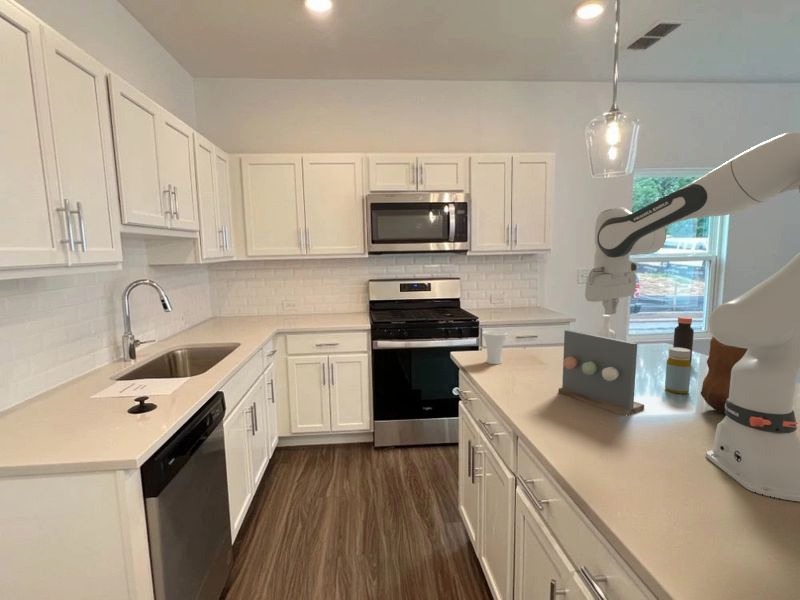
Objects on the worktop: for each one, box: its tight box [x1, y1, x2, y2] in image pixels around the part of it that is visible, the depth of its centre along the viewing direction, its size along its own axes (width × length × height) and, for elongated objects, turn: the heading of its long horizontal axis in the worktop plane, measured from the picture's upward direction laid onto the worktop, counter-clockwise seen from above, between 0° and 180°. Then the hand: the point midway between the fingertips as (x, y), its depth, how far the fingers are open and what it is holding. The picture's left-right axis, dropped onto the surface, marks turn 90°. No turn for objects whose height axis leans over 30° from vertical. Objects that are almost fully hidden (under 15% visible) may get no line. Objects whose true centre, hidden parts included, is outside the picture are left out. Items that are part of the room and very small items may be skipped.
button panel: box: [558, 329, 645, 417], centre depth 134 cm, size 10×24×22 cm, turn 30°
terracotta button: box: [562, 357, 578, 370], centre depth 137 cm, size 2×4×4 cm, turn 30°
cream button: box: [602, 367, 619, 381], centre depth 125 cm, size 2×4×4 cm, turn 30°
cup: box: [482, 329, 508, 365], centre depth 181 cm, size 10×10×14 cm
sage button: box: [582, 361, 598, 375], centre depth 131 cm, size 2×4×4 cm, turn 30°
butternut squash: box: [700, 335, 748, 414], centre depth 122 cm, size 14×13×25 cm
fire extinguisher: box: [596, 314, 617, 339], centre depth 154 cm, size 7×12×25 cm, turn 157°
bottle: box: [664, 346, 692, 395], centre depth 142 cm, size 7×7×15 cm
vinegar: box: [672, 316, 695, 363], centre depth 175 cm, size 7×7×20 cm
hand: (610, 314), depth 119 cm, fingers closed
